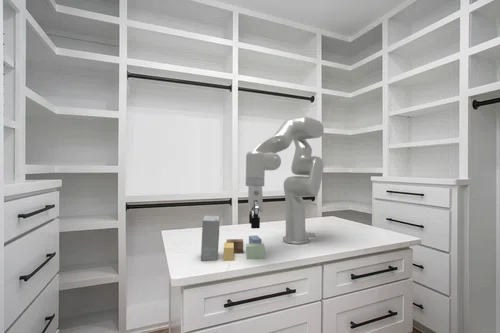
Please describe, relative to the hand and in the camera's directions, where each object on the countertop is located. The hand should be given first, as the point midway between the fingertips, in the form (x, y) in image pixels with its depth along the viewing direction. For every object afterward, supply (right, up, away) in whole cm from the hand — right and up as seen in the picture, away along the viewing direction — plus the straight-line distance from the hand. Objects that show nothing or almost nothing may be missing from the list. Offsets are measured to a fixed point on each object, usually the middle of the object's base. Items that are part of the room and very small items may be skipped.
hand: (254, 225), depth 100 cm
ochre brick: (-10, -13, 0) cm, 16 cm away
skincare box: (-17, -13, 0) cm, 22 cm away
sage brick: (0, -13, 0) cm, 13 cm away
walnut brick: (-8, -13, +7) cm, 17 cm away
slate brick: (+1, -13, +11) cm, 17 cm away
